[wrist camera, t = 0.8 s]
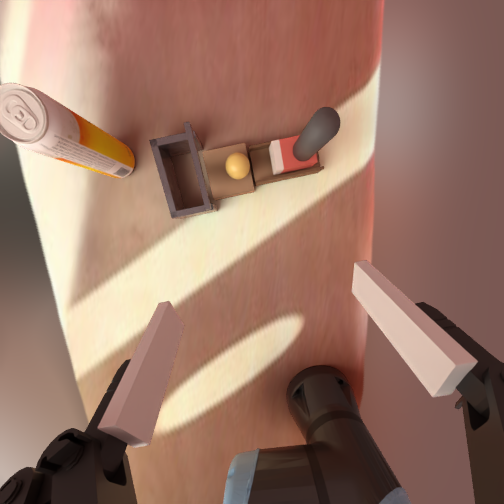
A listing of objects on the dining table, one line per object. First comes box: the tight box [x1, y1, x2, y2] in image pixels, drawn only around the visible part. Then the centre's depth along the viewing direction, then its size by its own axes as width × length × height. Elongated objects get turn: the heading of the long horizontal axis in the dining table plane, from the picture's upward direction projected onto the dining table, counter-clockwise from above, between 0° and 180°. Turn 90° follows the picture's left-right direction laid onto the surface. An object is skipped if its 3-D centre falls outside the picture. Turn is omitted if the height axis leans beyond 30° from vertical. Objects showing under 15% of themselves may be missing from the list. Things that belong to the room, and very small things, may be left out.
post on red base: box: [269, 107, 340, 175], centre depth 26 cm, size 4×7×11 cm, turn 102°
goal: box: [149, 122, 218, 219], centre depth 30 cm, size 12×7×8 cm, turn 12°
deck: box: [202, 143, 254, 200], centre depth 33 cm, size 8×8×2 cm
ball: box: [226, 152, 250, 179], centre depth 30 cm, size 4×4×4 cm
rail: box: [249, 141, 324, 186], centre depth 32 cm, size 6×12×3 cm, turn 102°
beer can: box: [0, 83, 135, 178], centre depth 25 cm, size 6×6×15 cm
